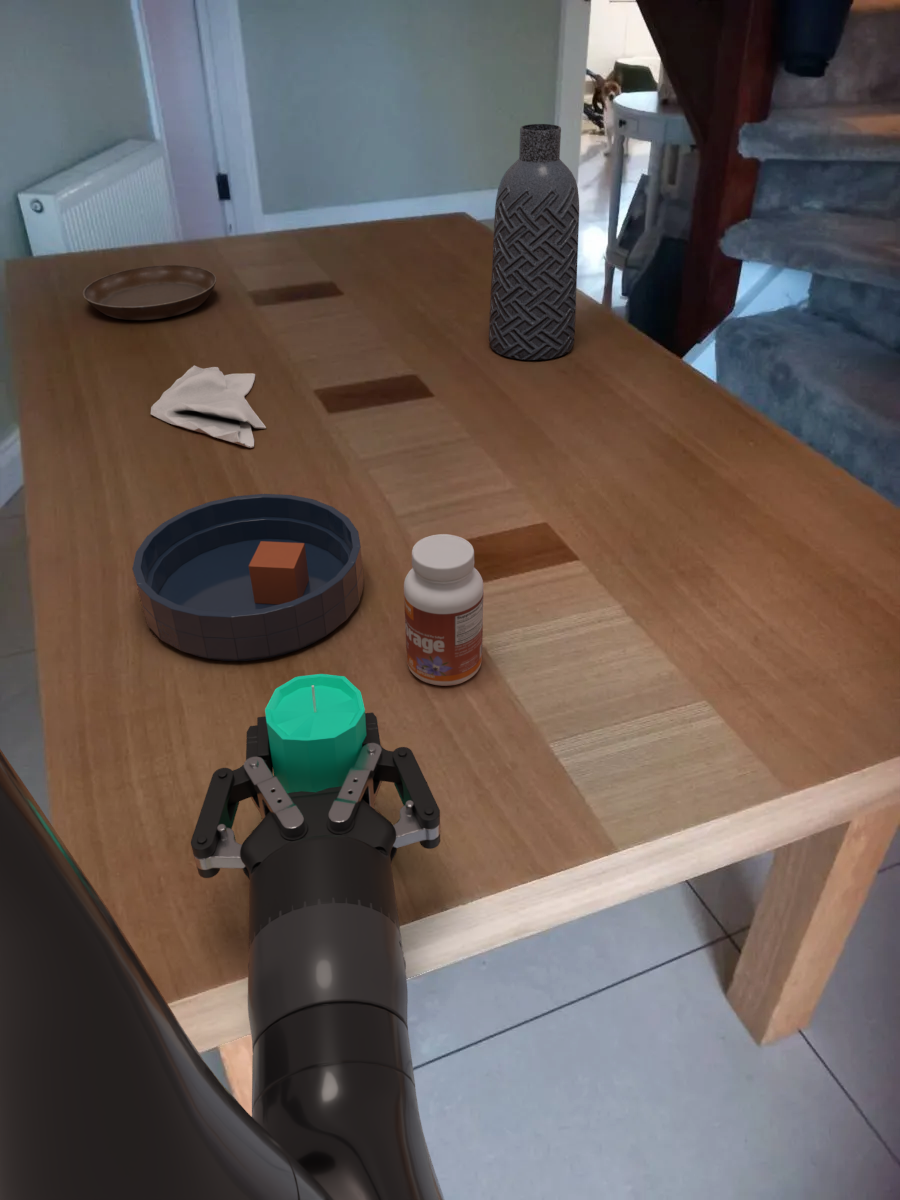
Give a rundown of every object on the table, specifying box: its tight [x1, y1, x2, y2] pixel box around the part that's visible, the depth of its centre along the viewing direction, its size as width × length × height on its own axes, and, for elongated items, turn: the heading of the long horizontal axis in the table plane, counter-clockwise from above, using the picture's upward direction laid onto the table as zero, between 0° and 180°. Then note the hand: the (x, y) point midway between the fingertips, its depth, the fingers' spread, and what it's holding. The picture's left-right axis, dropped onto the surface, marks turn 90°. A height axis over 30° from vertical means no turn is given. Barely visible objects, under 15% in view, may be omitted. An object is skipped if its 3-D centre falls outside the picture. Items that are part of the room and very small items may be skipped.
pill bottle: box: [403, 533, 485, 687], centre depth 72 cm, size 6×6×11 cm
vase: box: [488, 123, 580, 361], centre depth 123 cm, size 12×12×28 cm
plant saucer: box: [82, 264, 217, 321], centre depth 147 cm, size 21×21×3 cm
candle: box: [264, 673, 366, 793], centre depth 57 cm, size 6×6×12 cm
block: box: [249, 541, 309, 605], centre depth 81 cm, size 4×4×4 cm
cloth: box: [150, 364, 267, 449], centre depth 115 cm, size 26×14×2 cm, turn 13°
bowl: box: [132, 493, 365, 662], centre depth 82 cm, size 19×19×5 cm
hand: (312, 721), depth 59 cm, fingers closed on candle, 5 cm apart
